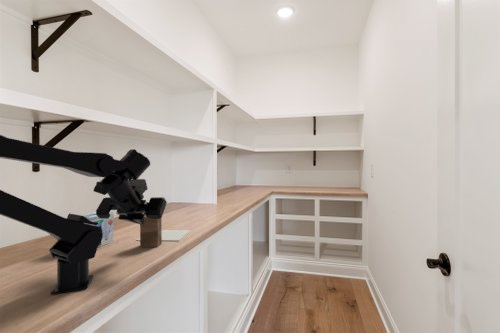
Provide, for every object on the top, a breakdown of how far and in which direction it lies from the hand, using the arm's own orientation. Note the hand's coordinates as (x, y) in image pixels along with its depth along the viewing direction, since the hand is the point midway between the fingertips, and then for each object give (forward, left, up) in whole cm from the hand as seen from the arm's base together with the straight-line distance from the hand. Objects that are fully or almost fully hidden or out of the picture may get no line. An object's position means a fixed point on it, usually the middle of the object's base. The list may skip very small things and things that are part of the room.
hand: (142, 223), depth 77 cm
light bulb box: (+14, +16, -9) cm, 23 cm away
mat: (+17, -7, -9) cm, 21 cm away
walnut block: (+6, -2, -9) cm, 11 cm away
